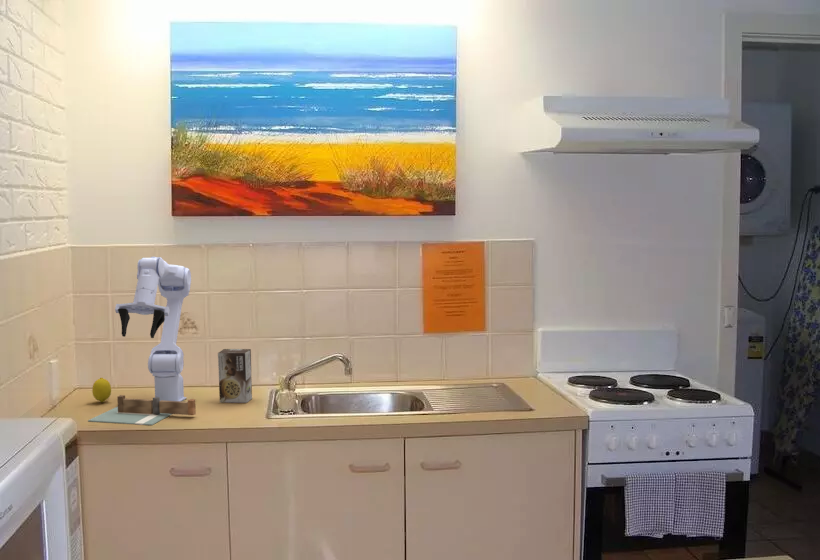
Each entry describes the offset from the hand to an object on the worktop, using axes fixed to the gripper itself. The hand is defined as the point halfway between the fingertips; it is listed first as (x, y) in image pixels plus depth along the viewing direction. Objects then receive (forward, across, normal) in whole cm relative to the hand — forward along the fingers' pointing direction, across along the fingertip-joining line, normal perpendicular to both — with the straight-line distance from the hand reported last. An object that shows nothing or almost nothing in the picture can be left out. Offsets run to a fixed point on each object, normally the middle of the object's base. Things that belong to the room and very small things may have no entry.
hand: (137, 335), depth 224 cm
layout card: (+12, -2, +27) cm, 30 cm away
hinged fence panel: (+13, +10, +23) cm, 28 cm away
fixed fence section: (+12, -1, +27) cm, 30 cm away
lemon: (+4, -16, +40) cm, 43 cm away
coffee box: (+2, +26, +36) cm, 45 cm away
